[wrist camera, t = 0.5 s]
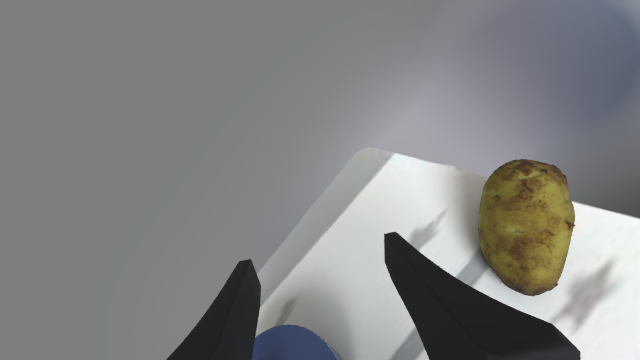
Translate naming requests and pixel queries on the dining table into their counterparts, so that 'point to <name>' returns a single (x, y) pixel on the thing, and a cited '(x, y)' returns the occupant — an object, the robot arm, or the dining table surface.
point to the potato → (526, 225)
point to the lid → (291, 345)
